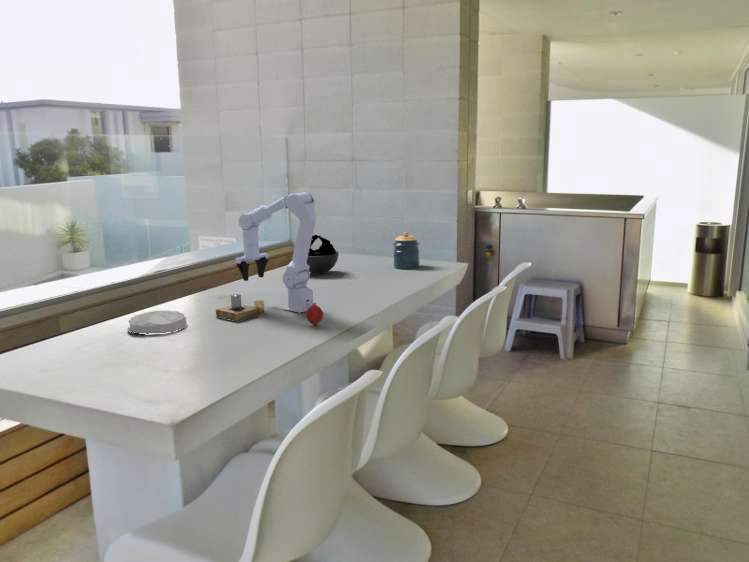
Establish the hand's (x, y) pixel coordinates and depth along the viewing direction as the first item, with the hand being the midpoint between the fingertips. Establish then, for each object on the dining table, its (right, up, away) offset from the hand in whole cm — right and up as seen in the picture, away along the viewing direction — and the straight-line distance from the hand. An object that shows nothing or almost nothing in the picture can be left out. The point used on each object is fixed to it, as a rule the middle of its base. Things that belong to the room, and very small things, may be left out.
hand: (253, 278), depth 257 cm
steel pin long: (-3, -14, -15) cm, 21 cm away
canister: (+63, +6, +71) cm, 96 cm away
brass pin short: (+4, -13, -12) cm, 18 cm away
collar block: (-3, -14, -16) cm, 21 cm away
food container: (-28, -18, -28) cm, 43 cm away
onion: (+27, -16, -31) cm, 44 cm away
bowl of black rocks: (+20, +3, +62) cm, 65 cm away
